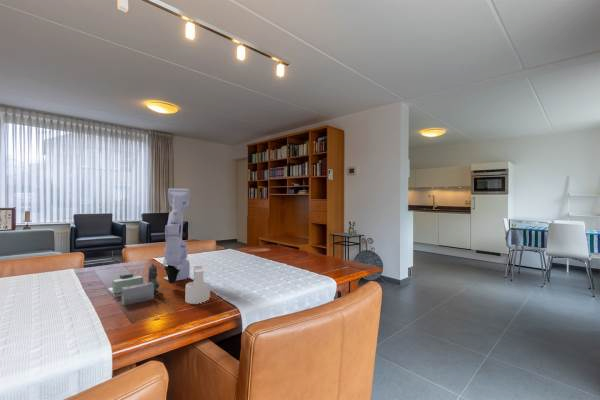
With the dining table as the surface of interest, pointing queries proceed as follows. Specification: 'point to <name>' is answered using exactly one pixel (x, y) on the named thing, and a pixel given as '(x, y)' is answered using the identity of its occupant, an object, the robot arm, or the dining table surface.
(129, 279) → the vise jaw
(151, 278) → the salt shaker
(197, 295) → the cylinder with rectangular tab
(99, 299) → the dining table surface
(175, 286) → the dining table surface
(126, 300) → the plate
